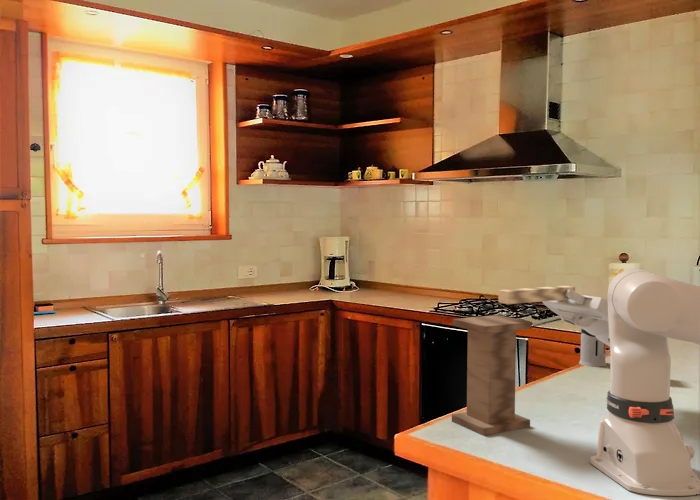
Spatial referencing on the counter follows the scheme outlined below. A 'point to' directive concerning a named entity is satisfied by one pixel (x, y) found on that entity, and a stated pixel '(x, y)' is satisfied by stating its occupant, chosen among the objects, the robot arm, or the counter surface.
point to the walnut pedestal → (491, 374)
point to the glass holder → (592, 350)
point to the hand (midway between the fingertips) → (558, 291)
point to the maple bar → (533, 294)
